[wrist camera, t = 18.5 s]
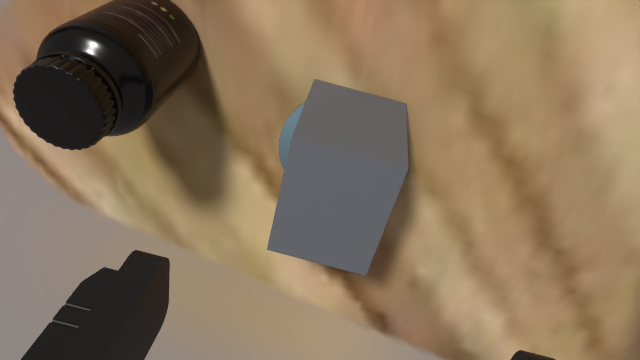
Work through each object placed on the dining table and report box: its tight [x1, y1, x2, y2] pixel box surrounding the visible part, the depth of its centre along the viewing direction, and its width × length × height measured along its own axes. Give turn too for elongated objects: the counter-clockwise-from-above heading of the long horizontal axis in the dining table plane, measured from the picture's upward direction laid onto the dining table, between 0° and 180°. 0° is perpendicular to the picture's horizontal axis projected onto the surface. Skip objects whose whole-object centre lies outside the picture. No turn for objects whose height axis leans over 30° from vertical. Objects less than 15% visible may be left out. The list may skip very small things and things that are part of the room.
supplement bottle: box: [13, 0, 199, 150], centre depth 29 cm, size 7×7×12 cm
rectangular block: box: [267, 79, 409, 276], centre depth 33 cm, size 7×9×9 cm
